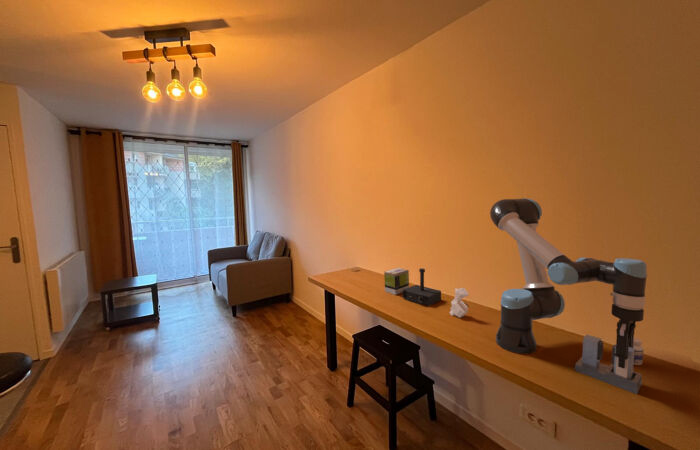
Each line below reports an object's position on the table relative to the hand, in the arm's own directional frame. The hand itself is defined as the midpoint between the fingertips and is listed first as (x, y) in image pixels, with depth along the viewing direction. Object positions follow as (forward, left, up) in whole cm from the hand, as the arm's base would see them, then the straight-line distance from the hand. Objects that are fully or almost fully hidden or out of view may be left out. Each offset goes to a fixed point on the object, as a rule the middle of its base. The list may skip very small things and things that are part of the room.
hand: (623, 372), depth 94 cm
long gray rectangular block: (0, 0, -1) cm, 1 cm away
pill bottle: (0, +20, -4) cm, 20 cm away
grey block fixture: (-4, 0, -4) cm, 5 cm away
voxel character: (-65, +7, -4) cm, 66 cm away
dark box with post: (-94, +11, -4) cm, 95 cm away
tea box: (-116, +12, -4) cm, 117 cm away
